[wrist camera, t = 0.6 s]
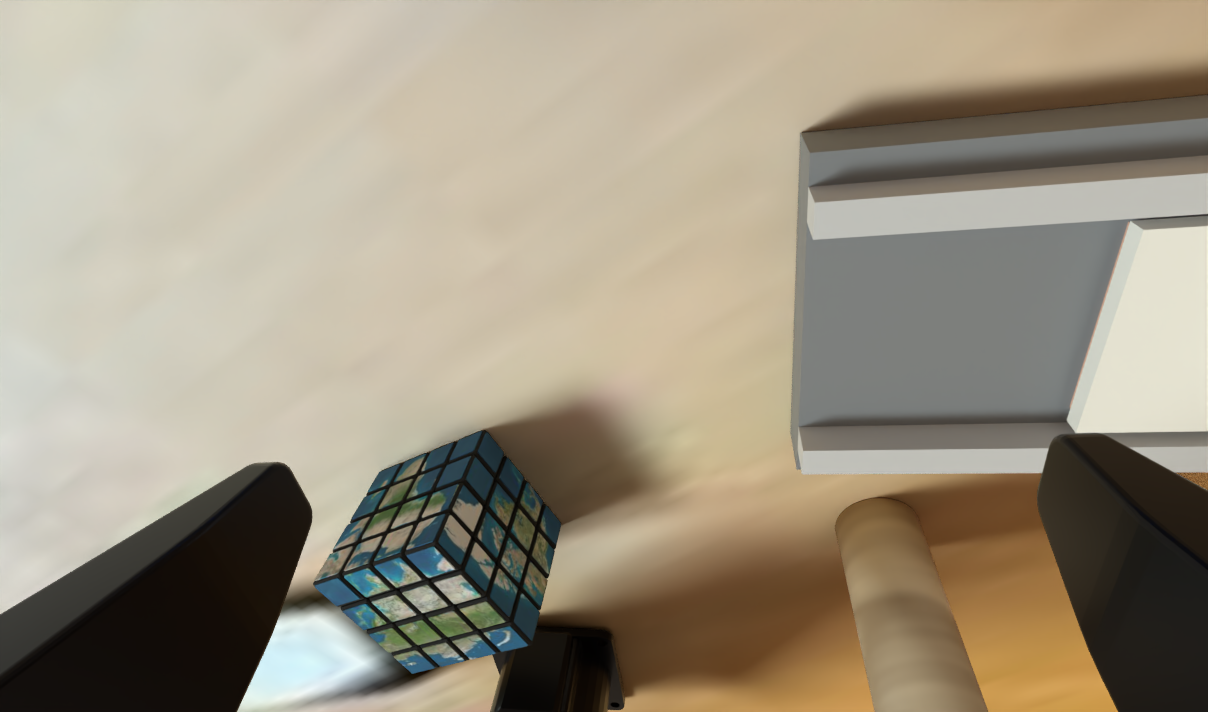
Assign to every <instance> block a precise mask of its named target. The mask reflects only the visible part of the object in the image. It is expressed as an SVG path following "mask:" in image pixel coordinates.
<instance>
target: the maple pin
mask: <svg viewBox="0 0 1208 712" xmlns="http://www.w3.org/2000/svg"><path fill="white" fill-rule="evenodd" d="M835 531H836V536H837V540H838V545H839V549H840V554H841V559H842V563H843V568H844V572H845V577H846V581H847V586H848V591H849V595H850V600H851V604H852V609H853V614H854V618H855V623H856V627H857V632H858V637H859V641H860V646H861V650H862V655H863V660H864V664H865V669H866V673H867V678H868V683H869V687H870V692H871V696H872V701H873V706H874V710H875V712H988V710H987V707H986V704H985V701H984V699H983V696H982V693H981V690H980V688H979V685H978V682H977V679H976V677H975V674H974V671H973V668H972V666H971V663H970V660H969V657H968V655H967V652H966V649H965V646H964V643H963V641H962V638H961V635H960V632H959V630H958V627H957V624H956V621H955V619H954V616H953V613H952V610H951V608H950V605H949V602H948V599H947V597H946V594H945V591H944V588H943V586H942V583H941V580H940V577H939V574H938V572H937V569H936V566H935V563H934V561H933V558H932V555H931V552H930V550H929V547H928V544H927V541H926V539H925V536H924V533H923V530H922V528H921V525H920V522H919V519H918V516H917V515H916V513H915V512H914V510H913V509H912V508H911V507H909V506H908V505H906V504H905V503H902V502H900V501H897V500H893V499H888V498H873V499H867V500H863V501H860V502H857V503H855V504H853V505H851V506H849V507H848V508H846V509H845V510H844V511H843V512H842V513H841V514H840V515H839V517H838V519H837V521H836V525H835Z"/></svg>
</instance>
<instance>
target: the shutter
mask: <svg viewBox="0 0 1208 712" xmlns="http://www.w3.org/2000/svg"><path fill="white" fill-rule="evenodd" d="M1067 422H1068V423H1069V425H1070V426H1071V427H1072V429H1073V430H1074V431H1075V433H1127V432H1197V431H1208V216H1198V217H1182V218H1167V219H1152V220H1136V221H1130V223H1129V226H1128V230H1127V233H1126V236H1125V239H1124V242H1123V245H1122V248H1121V251H1120V255H1119V258H1118V261H1117V264H1116V267H1115V270H1114V273H1113V277H1112V280H1111V283H1110V286H1109V289H1108V292H1107V295H1106V298H1105V302H1104V305H1103V308H1102V311H1101V314H1100V317H1099V320H1098V323H1097V327H1096V330H1095V333H1094V336H1093V339H1092V342H1091V345H1090V349H1089V352H1088V355H1087V358H1086V361H1085V364H1084V367H1083V370H1082V374H1081V377H1080V380H1079V383H1078V386H1077V389H1076V392H1075V396H1074V399H1073V402H1072V405H1071V408H1070V411H1069V414H1068V417H1067Z"/></svg>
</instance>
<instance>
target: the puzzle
mask: <svg viewBox="0 0 1208 712" xmlns="http://www.w3.org/2000/svg"><path fill="white" fill-rule="evenodd" d="M503 456H504V453H503V451H502V450H501V448H500V447H499V446H498V445H497V444H496V442H495V441H494V440H493V439H492V437H491V436H490V435H489V434H488V432H486V431H480V432H477V433H475V434H472V435H470V436H467V437H465V438H463V439H460V440H459V441H458V443H457V442H453V443H450V444H448V445H445V446H443V447H440V448H438V449H435V450H433V451H431V453H428V454H426V453H425V454H423V455H420V456H418V457H415V458H413V459H410V460H408V461H405V462H404V464H398V465H395V466H393V467H391V468H388V469H386V470H383V471H381V472H379V473H378V475H377V477H376V478H375V480H374V482H373V483H372V485H371V487H370V488H369V490H368V493H367V494H366V495H367V496H366V497H364V499H363V500H362V502H361V504H360V505H359V507H358V509H357V510H356V512H355V513H354V515H353V517H352V519H351V521H350V523H351V524H348V526H347V527H346V528H345V530H344V532H343V533H342V535H341V537H340V538H339V540H338V542H337V543H336V545H335V547H334V549H333V553H332V554H330V555H329V557H328V559H327V560H326V562H325V564H324V565H323V567H322V568H321V570H320V572H319V573H318V575H317V577H316V578H315V581H314V583H313V585H314V586H315V588H316V589H318V590H319V591H320V592H321V593H322V594H323V595H324V596H326V597H327V598H328V599H329V600H330V601H331V602H332V603H334V604H335V605H336V606H338V607H339V606H341V610H342V611H343V613H345V614H346V615H347V616H348V617H349V618H350V619H351V620H353V621H354V622H355V623H356V624H357V625H358V626H359V627H361V628H362V629H363V630H367V629H368V630H367V633H368V634H369V636H370V637H372V638H373V639H374V640H375V641H376V642H377V643H378V644H379V645H381V646H382V647H383V648H384V649H385V650H386V651H387V652H389V653H390V652H392V655H393V656H394V658H395V659H396V660H397V661H399V662H400V663H401V664H402V665H403V666H404V667H405V668H407V669H408V670H409V671H410V672H411V673H417V672H421V671H425V670H429V669H433V668H437V667H439V666H441V667H442V666H446V665H450V664H455V663H459V662H463V661H466V660H469V658H470V659H475V658H480V657H484V656H488V655H492V654H496V653H499V652H500V651H501V652H505V651H509V650H513V649H517V648H521V647H525V646H529V645H532V643H533V639H534V635H535V631H536V627H537V623H538V619H539V615H540V612H539V611H538V610H540V609H541V606H542V602H543V597H544V593H545V589H546V585H547V581H548V580H547V579H546V578H548V577H549V573H550V569H551V565H552V560H553V556H554V552H555V551H554V549H555V548H556V544H557V540H558V536H559V531H560V527H561V523H560V521H559V520H558V519H557V518H556V516H555V515H554V514H553V513H552V511H551V510H550V509H549V508H548V506H546V505H545V504H543V501H542V499H541V498H540V497H539V496H538V494H537V493H536V492H535V491H534V489H533V488H532V487H531V486H530V484H529V483H528V482H527V481H523V480H524V477H523V476H522V475H521V473H520V472H519V471H518V470H517V468H516V467H515V466H514V465H513V463H512V462H511V461H510V460H509V458H507V457H506V456H504V457H503Z"/></svg>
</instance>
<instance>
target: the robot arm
mask: <svg viewBox="0 0 1208 712" xmlns="http://www.w3.org/2000/svg"><path fill="white" fill-rule="evenodd" d="M1037 505H1038V510H1039V514H1040V517H1041V520H1042V523H1043V525H1044V528H1045V531H1046V534H1047V537H1048V539H1049V542H1050V545H1051V548H1052V551H1053V553H1054V556H1055V559H1056V562H1057V565H1058V567H1059V570H1060V573H1061V576H1062V579H1063V581H1064V584H1065V587H1066V590H1067V593H1068V595H1069V598H1070V601H1071V604H1072V607H1073V609H1074V612H1075V615H1076V618H1077V621H1078V623H1079V626H1080V629H1081V631H1082V634H1083V637H1084V639H1085V642H1086V644H1087V647H1088V650H1089V652H1090V654H1091V656H1092V658H1093V661H1094V663H1095V665H1096V667H1097V669H1098V671H1099V674H1100V676H1101V678H1102V680H1103V682H1104V684H1105V686H1106V688H1107V690H1108V692H1109V694H1110V696H1111V698H1112V700H1113V702H1114V704H1115V706H1116V708H1117V710H1118V712H1208V490H1206V489H1204V488H1202V487H1200V486H1199V485H1197V484H1195V483H1193V482H1191V481H1189V480H1188V479H1186V478H1184V477H1182V476H1180V475H1178V474H1177V473H1175V472H1173V471H1171V470H1169V469H1167V468H1166V467H1164V466H1162V465H1160V464H1158V463H1157V462H1155V461H1153V460H1151V459H1149V458H1147V457H1146V456H1144V455H1142V454H1140V453H1138V452H1136V451H1135V450H1133V449H1131V448H1129V447H1127V446H1125V445H1124V444H1122V443H1120V442H1118V441H1116V440H1115V439H1113V438H1111V437H1109V436H1107V435H1104V434H1101V433H1069V434H1060V435H1058V436H1056V437H1054V438H1053V440H1052V441H1051V443H1050V446H1049V449H1048V452H1047V456H1046V460H1045V464H1044V468H1043V471H1042V475H1041V479H1040V483H1039V487H1038V491H1037ZM311 523H312V509H311V506H310V503H309V502H308V500H307V498H306V496H305V494H304V493H303V491H302V489H301V487H300V485H299V483H298V482H297V480H296V478H295V476H294V474H293V472H292V471H291V469H290V468H289V467H288V466H287V465H285V464H284V463H280V462H266V463H254V464H251V465H249V466H247V467H245V468H243V469H242V470H240V471H238V472H237V473H235V474H233V475H232V476H230V477H228V478H227V479H225V480H223V481H222V482H220V483H218V484H217V485H215V486H213V487H212V488H210V489H208V490H207V491H205V492H203V493H202V494H200V495H198V496H197V497H195V498H193V499H192V500H190V501H188V502H187V503H185V504H183V505H182V506H180V507H178V508H177V509H175V510H173V511H172V512H170V513H168V514H167V515H165V516H163V517H162V518H160V519H158V520H157V521H155V522H153V523H152V524H150V525H148V526H147V527H145V528H143V529H142V530H140V531H138V532H137V533H135V534H133V535H132V536H130V537H128V538H127V539H125V540H123V541H122V542H120V543H118V544H117V545H115V546H113V547H112V548H110V549H108V550H107V551H105V552H103V553H102V554H100V555H98V556H97V557H95V558H93V559H92V560H90V561H88V562H87V563H85V564H83V565H82V566H80V567H78V568H77V569H75V570H73V571H72V572H70V573H68V574H67V575H65V576H63V577H62V578H60V579H58V580H57V581H55V582H53V583H52V584H50V585H48V586H47V587H45V588H43V589H42V590H40V591H38V592H37V593H35V594H33V595H32V596H30V597H28V598H27V599H25V600H23V601H22V602H20V603H18V604H17V605H15V606H13V607H12V608H10V609H8V610H7V611H5V612H3V613H2V614H0V712H237V710H238V708H239V706H240V704H241V702H242V699H243V697H244V695H245V693H246V691H247V689H248V686H249V684H250V682H251V680H252V678H253V676H254V673H255V671H256V669H257V667H258V665H259V663H260V660H261V658H262V656H263V654H264V652H265V649H266V647H267V645H268V643H269V640H270V638H271V636H272V633H273V631H274V628H275V625H276V623H277V620H278V618H279V615H280V612H281V609H282V606H283V604H284V601H285V598H286V595H287V592H288V589H289V587H290V584H291V581H292V578H293V575H294V572H295V570H296V567H297V564H298V561H299V558H300V555H301V553H302V550H303V547H304V544H305V541H306V538H307V536H308V533H309V530H310V527H311ZM492 655H493V658H494V660H495V663H496V666H497V669H498V671H499V674H500V678H499V681H498V685H497V689H496V692H495V696H494V700H493V703H492V707H491V711H490V712H607V711H608V710H621V709H623V708H624V704H625V695H624V690H623V685H622V680H621V675H620V670H619V664H618V659H617V654H616V649H615V644H614V639H613V635H612V634H611V633H610V632H608V631H606V630H591V629H565V628H538V627H536V631H535V635H534V639H533V643H532V645H529V646H525V647H521V648H517V649H513V650H509V651H505V652H501V651H500V652H499V653H496V654H492Z"/></svg>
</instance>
